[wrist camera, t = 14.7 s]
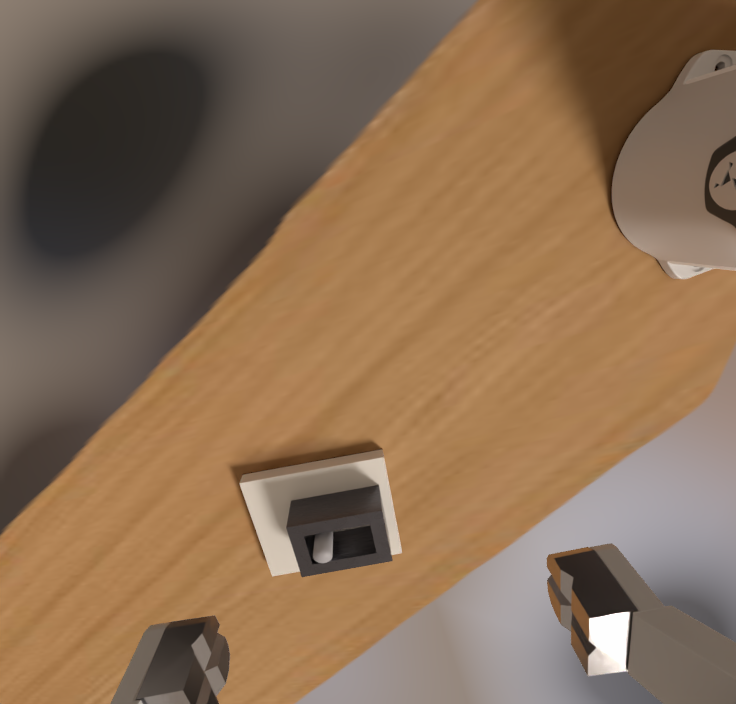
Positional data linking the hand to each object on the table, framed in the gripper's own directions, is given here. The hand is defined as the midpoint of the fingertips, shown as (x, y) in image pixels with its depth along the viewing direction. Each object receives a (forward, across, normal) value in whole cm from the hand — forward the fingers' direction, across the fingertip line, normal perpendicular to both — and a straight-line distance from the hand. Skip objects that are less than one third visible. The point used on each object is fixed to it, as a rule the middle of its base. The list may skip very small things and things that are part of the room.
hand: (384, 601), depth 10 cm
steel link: (+30, +6, +24) cm, 39 cm away
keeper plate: (+31, +8, +24) cm, 40 cm away
